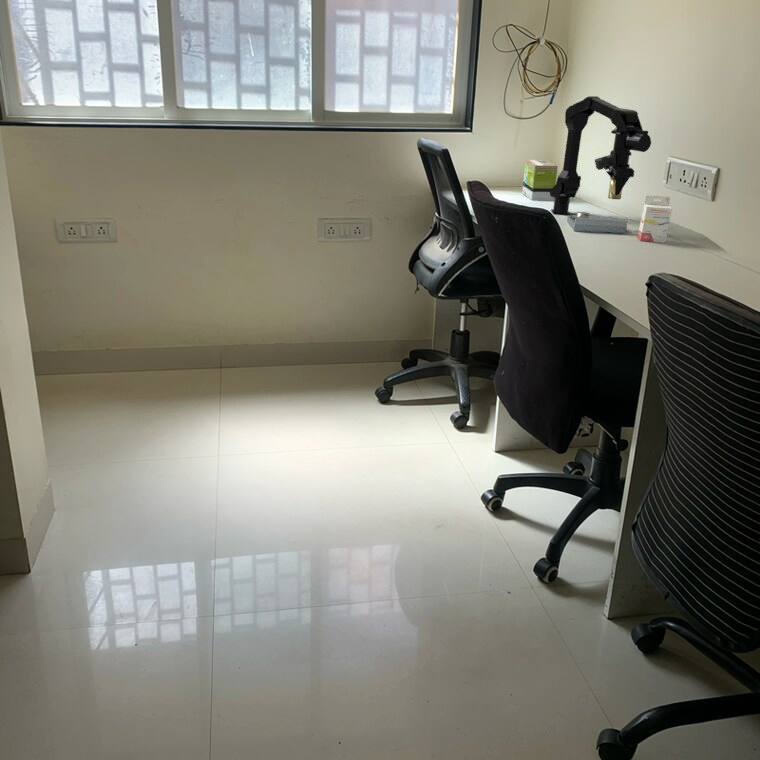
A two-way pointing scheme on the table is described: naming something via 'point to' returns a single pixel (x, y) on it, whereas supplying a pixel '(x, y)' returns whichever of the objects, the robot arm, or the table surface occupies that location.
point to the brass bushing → (613, 190)
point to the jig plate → (597, 224)
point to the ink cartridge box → (655, 219)
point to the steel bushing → (583, 215)
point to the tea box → (539, 179)
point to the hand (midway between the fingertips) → (615, 193)
